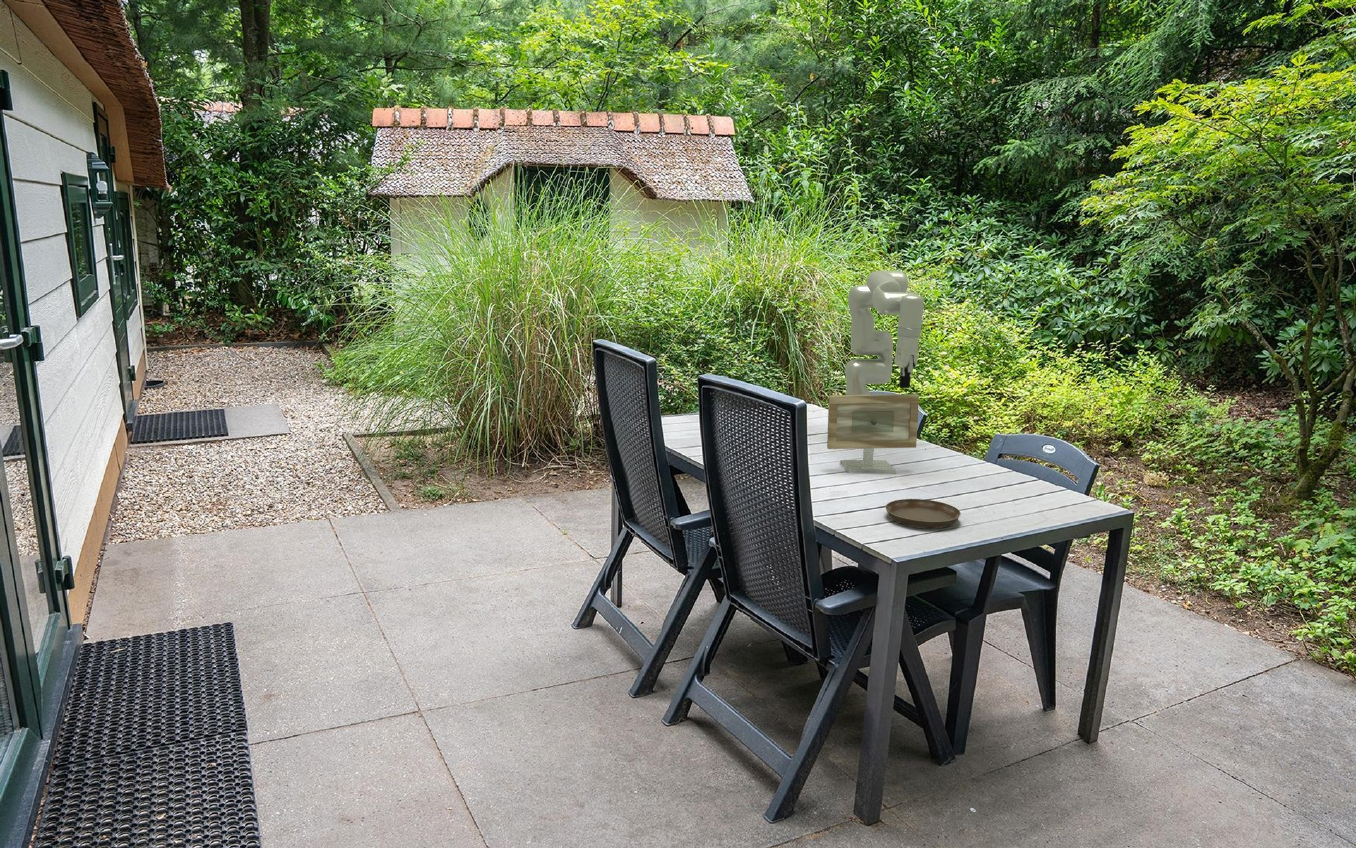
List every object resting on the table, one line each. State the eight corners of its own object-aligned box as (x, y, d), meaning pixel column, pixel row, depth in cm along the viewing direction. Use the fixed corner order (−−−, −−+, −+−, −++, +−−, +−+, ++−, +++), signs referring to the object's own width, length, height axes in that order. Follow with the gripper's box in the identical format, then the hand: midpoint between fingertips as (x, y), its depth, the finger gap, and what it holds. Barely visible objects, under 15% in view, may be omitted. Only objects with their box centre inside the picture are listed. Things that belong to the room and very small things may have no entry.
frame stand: (840, 464, 325) (843, 413, 321) (885, 464, 326) (889, 414, 322) (848, 473, 313) (852, 420, 309) (895, 473, 314) (899, 421, 310)
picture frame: (827, 447, 315) (828, 395, 311) (914, 446, 317) (917, 394, 313) (828, 449, 313) (830, 396, 309) (916, 448, 315) (919, 395, 311)
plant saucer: (915, 535, 252) (916, 523, 251) (870, 513, 270) (871, 502, 270) (975, 527, 260) (976, 516, 260) (927, 506, 279) (928, 495, 278)
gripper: (891, 329, 315) (887, 383, 319) (904, 335, 300) (899, 391, 304) (913, 330, 315) (908, 383, 319) (927, 336, 301) (922, 392, 305)
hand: (904, 387), depth 312 cm, fingers closed
